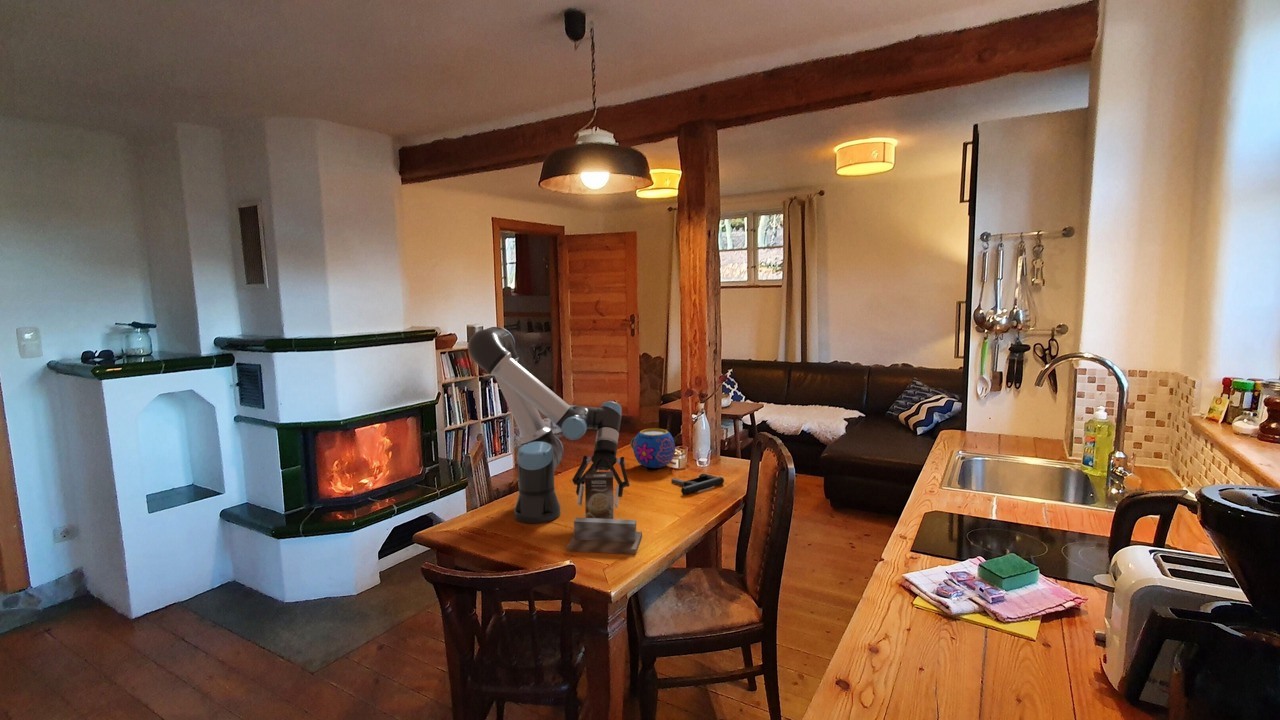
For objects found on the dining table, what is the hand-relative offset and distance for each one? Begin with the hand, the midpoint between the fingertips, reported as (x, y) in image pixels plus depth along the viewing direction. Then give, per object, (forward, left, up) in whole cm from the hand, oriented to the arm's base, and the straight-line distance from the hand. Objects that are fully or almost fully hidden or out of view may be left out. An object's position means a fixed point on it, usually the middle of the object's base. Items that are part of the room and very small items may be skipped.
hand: (597, 505), depth 188 cm
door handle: (+28, +41, -7) cm, 50 cm away
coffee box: (0, +3, -7) cm, 8 cm away
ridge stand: (+5, -12, -7) cm, 15 cm away
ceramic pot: (+10, +63, -7) cm, 64 cm away
